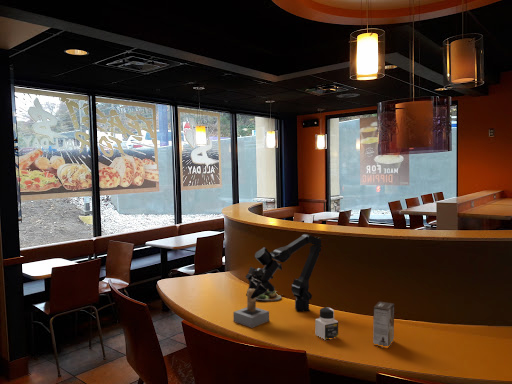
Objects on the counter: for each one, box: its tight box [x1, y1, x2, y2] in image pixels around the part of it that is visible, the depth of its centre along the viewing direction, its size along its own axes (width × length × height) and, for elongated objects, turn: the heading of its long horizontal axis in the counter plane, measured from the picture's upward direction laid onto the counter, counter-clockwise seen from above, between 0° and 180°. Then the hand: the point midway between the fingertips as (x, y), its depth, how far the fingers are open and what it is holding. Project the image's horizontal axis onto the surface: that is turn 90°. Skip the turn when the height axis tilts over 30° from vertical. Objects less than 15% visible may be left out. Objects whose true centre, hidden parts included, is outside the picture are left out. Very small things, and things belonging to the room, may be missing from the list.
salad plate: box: [256, 289, 282, 303], centre depth 226 cm, size 19×18×5 cm
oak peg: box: [246, 288, 257, 312], centre depth 188 cm, size 4×4×10 cm
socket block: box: [233, 306, 270, 329], centre depth 188 cm, size 12×12×4 cm
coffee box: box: [372, 301, 395, 346], centre depth 163 cm, size 9×6×16 cm
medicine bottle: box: [314, 307, 339, 341], centre depth 170 cm, size 7×7×12 cm
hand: (249, 297), depth 187 cm, fingers closed on oak peg, 4 cm apart
